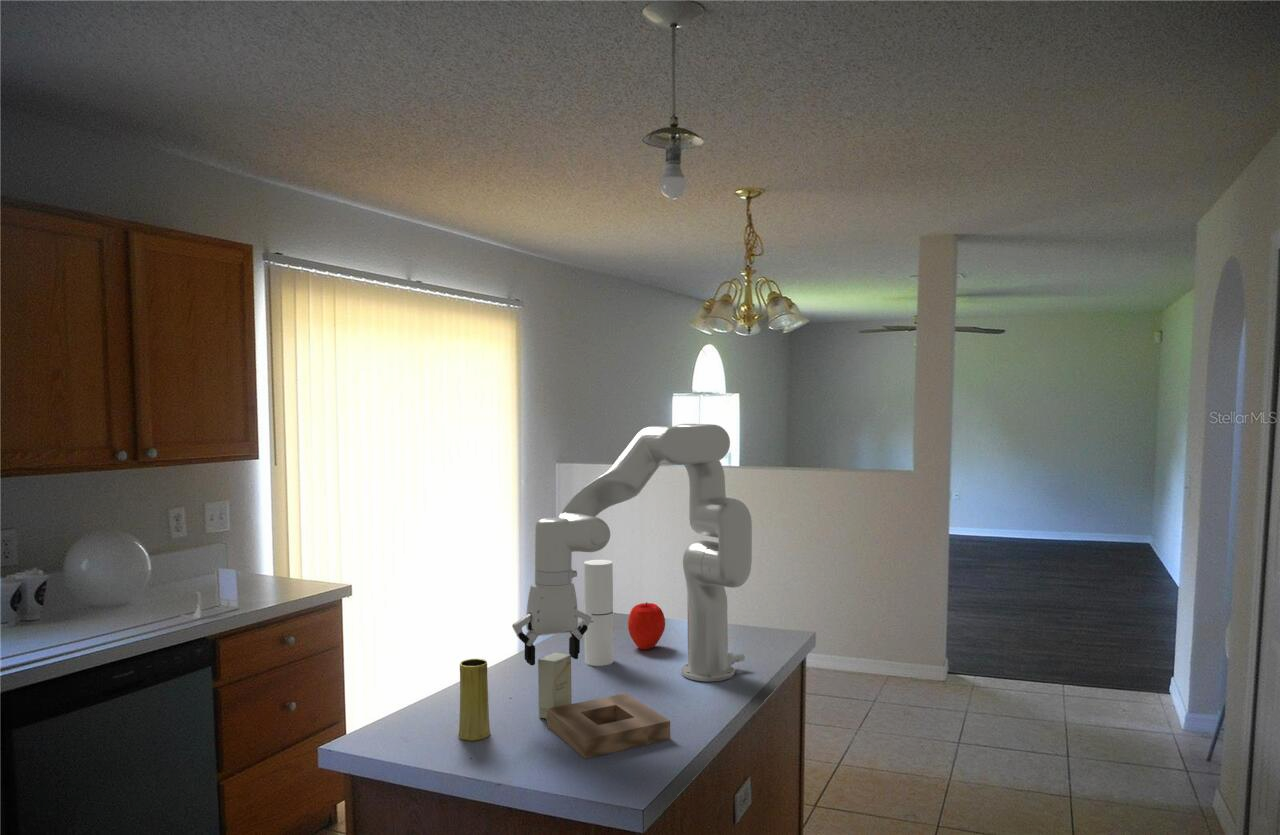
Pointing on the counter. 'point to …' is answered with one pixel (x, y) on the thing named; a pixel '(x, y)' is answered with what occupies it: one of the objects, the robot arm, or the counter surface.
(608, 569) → the cylindrical container
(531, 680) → the counter surface
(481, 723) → the vase
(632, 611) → the apple
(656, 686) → the counter surface
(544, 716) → the skincare box
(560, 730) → the docking block
